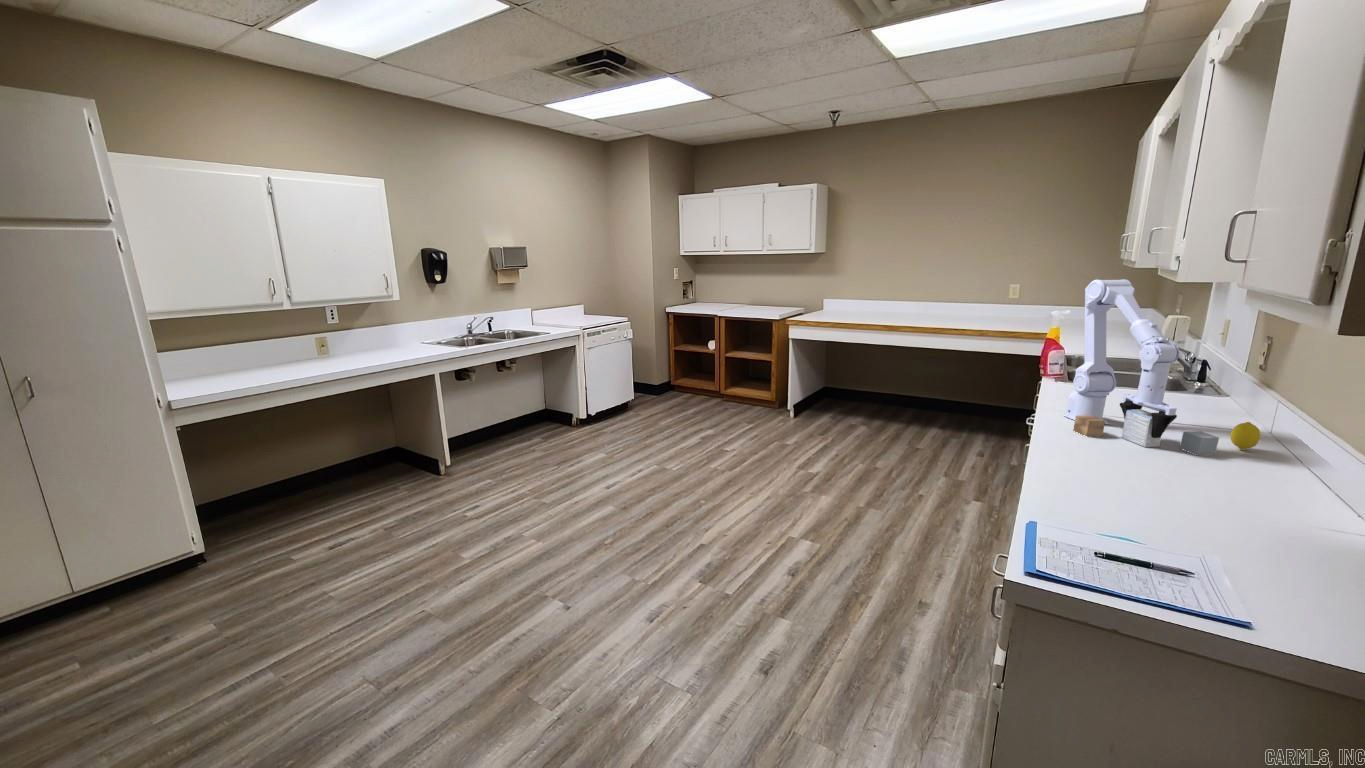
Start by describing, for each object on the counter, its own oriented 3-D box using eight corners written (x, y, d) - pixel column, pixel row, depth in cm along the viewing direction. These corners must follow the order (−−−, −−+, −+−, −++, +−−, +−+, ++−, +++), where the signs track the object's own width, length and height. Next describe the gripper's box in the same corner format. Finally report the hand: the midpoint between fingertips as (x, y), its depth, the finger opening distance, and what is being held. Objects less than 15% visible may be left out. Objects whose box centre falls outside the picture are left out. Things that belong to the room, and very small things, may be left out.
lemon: (1243, 446, 152) (1250, 419, 150) (1261, 454, 146) (1269, 425, 144) (1221, 446, 152) (1228, 418, 150) (1239, 453, 147) (1246, 425, 145)
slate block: (1179, 448, 151) (1183, 431, 149) (1196, 448, 151) (1200, 431, 150) (1197, 455, 146) (1201, 438, 144) (1214, 455, 146) (1219, 437, 145)
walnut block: (1073, 431, 165) (1075, 415, 164) (1088, 430, 165) (1091, 415, 164) (1086, 437, 160) (1089, 420, 159) (1102, 436, 160) (1105, 420, 159)
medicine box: (1159, 447, 151) (1166, 417, 149) (1144, 447, 151) (1150, 417, 149) (1135, 437, 159) (1141, 408, 157) (1120, 437, 159) (1126, 409, 157)
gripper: (1116, 379, 158) (1107, 424, 161) (1162, 392, 144) (1152, 441, 147) (1139, 379, 158) (1130, 423, 162) (1187, 392, 144) (1176, 440, 148)
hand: (1142, 432), depth 154 cm, fingers closed on medicine box, 7 cm apart
